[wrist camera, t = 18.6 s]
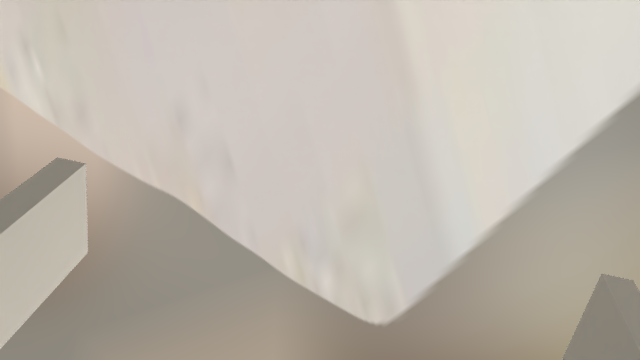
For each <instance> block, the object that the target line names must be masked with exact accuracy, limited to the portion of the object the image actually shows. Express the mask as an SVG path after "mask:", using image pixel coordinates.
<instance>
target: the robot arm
mask: <svg viewBox="0 0 640 360" xmlns="http://www.w3.org/2000/svg"><path fill="white" fill-rule="evenodd" d="M87 253H88V233H87V191H86V164H85V163H80V162H76V161H71V160H67V159H62V158H56V159H55V160H53V161H52V162H51V163H49V164H48V165H47V166H46V167H44V168H43V169H41V170H40V171H39V172H37V173H36V174H35V175H33V176H32V177H31V178H29V179H28V180H27V181H25V182H24V183H23V184H21V185H20V186H18V187H17V188H16V189H14V190H13V191H12V192H10V193H9V194H8V195H6V196H5V197H4V198H2V199H1V200H0V349H1V348H2V347H3V345H4V344H5V343H6V342H7V341H8V340H9V339H10V338H11V336H13V334H14V333H15V332H16V331H17V330H18V329H19V328H20V327H21V326H22V324H23V323H24V322H25V321H26V320H27V319H28V318H29V317H30V315H31V314H32V313H33V312H34V311H35V310H36V309H37V308H38V307H39V306H40V305H41V304H42V302H43V301H44V300H45V299H46V298H47V297H48V296H49V295H50V294H51V292H52V291H53V290H54V289H55V288H56V287H57V286H58V285H59V284H60V283H61V281H62V280H63V279H64V278H65V277H66V276H67V275H68V274H69V273H70V272H71V270H72V269H73V268H74V267H75V266H76V265H77V264H78V263H79V261H81V259H82V258H83V257H84V256H85V255H86V254H87ZM563 360H640V291H639V290H638V288H637V286H636V284H635V282H634V281H633V280H629V279H624V278H620V277H615V276H610V275H605V274H601V276H600V278H599V281H598V283H597V285H596V287H595V290H594V291H593V294H592V296H591V298H590V300H589V302H588V304H587V306H586V309H585V311H584V313H583V315H582V318H581V320H580V322H579V324H578V326H577V328H576V330H575V332H574V335H573V337H572V339H571V341H570V343H569V345H568V348H567V350H566V352H565V354H564V356H563Z"/></svg>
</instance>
